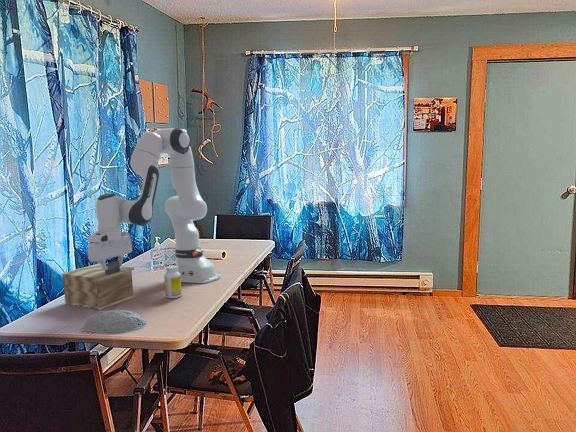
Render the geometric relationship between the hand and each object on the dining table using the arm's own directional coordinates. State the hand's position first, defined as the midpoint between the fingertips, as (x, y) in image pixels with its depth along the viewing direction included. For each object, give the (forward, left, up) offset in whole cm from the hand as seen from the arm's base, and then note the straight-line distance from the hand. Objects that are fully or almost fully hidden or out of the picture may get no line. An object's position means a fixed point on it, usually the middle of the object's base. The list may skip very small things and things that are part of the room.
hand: (112, 268), depth 216 cm
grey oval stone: (-20, +19, -15) cm, 32 cm away
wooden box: (+9, 0, -15) cm, 17 cm away
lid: (+8, 0, -2) cm, 8 cm away
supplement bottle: (-16, -17, -15) cm, 28 cm away
